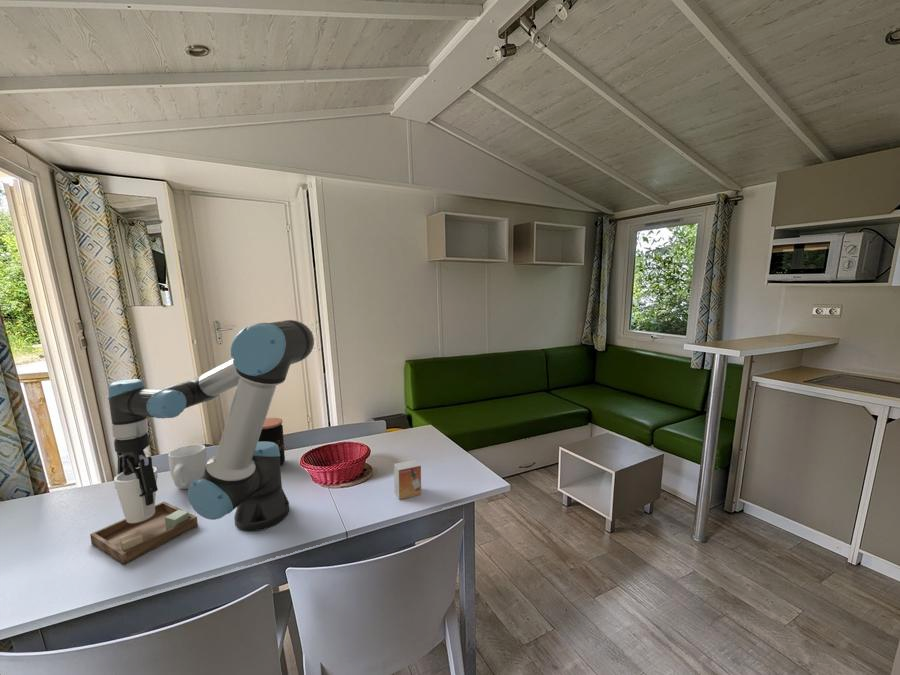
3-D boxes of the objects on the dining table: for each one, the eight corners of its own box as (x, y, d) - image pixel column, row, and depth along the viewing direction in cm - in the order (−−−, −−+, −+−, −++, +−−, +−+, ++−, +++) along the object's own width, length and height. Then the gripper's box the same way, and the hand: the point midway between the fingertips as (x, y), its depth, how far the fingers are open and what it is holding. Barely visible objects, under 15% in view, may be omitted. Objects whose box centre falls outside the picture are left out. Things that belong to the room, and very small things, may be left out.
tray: (197, 525, 111) (196, 516, 111) (123, 565, 95) (122, 554, 95) (165, 510, 119) (164, 501, 119) (91, 544, 103) (90, 534, 103)
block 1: (143, 550, 100) (142, 536, 99) (124, 558, 97) (122, 543, 96) (140, 543, 102) (139, 529, 102) (121, 550, 100) (120, 537, 99)
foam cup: (137, 528, 102) (131, 483, 100) (109, 524, 104) (104, 480, 102) (169, 509, 111) (165, 467, 109) (144, 505, 113) (139, 464, 111)
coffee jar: (277, 471, 144) (274, 426, 142) (250, 471, 144) (246, 427, 142) (289, 459, 155) (287, 417, 152) (264, 459, 155) (261, 417, 153)
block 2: (189, 524, 111) (188, 511, 110) (176, 532, 107) (175, 519, 106) (179, 522, 112) (178, 509, 111) (166, 530, 108) (164, 517, 108)
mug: (196, 496, 127) (193, 460, 125) (159, 500, 125) (155, 463, 123) (213, 475, 141) (210, 442, 140) (180, 479, 139) (177, 445, 137)
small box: (398, 500, 124) (398, 470, 122) (394, 492, 129) (393, 463, 128) (421, 494, 127) (421, 465, 126) (416, 487, 132) (415, 458, 131)
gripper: (168, 437, 103) (175, 513, 105) (128, 424, 113) (136, 494, 115) (135, 447, 96) (144, 528, 99) (96, 432, 106) (105, 506, 109)
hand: (139, 509), depth 107 cm, fingers closed on foam cup, 9 cm apart
